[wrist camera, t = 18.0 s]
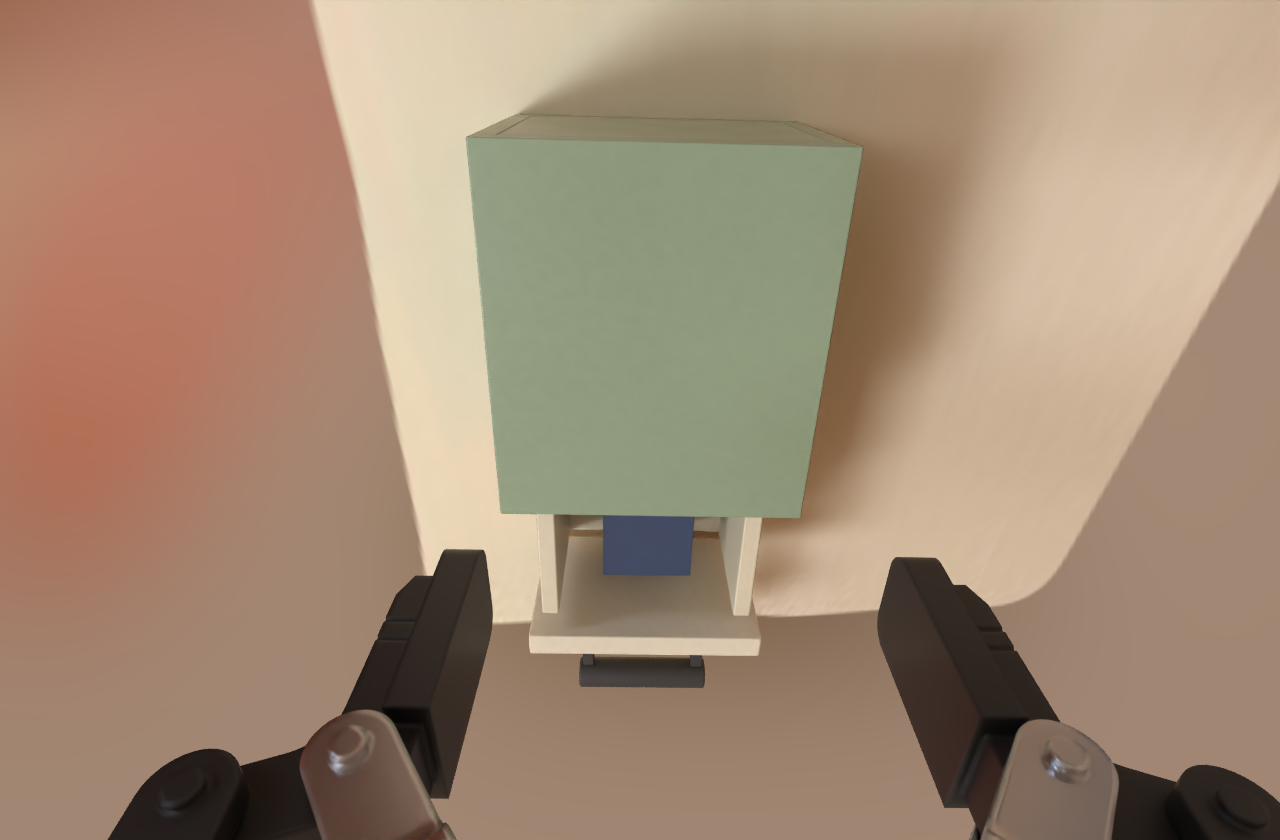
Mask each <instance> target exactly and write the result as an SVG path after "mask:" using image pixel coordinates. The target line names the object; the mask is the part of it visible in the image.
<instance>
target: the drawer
mask: <svg viewBox="0 0 1280 840" xmlns="http://www.w3.org/2000/svg"><path fill="white" fill-rule="evenodd" d="M536 516H537V533H538V549H539V565H540V578H539V584H538V589H537V595H536V600H535V606H534V611H533V616H532V622H531V627H530V633H529V645H530V652H531V653H568V654H569V653H570V654H583V657H581V659H580V672H579V683H580V686H582V687H661V688H662V687H663V688H665V687H666V688H667V687H668V688H703V687H704V682H705V668H704V660H703V659H702V655H729V656H732V655H733V656H758V655H759V650H760V644H761V636H760V631H759V627H758V622H757V618H756V613H755V608H754V604H753V599H752V592H753V585H754V577H755V570H756V563H757V556H758V548H759V541H760V534H761V527H762V519H763V518H748V517H694V530H693V531H700V532H719V537H720V539H693V544H692V558H691V571H690V576H663V575H604V574H603V537H569V535H570V530H603V515H559V514H536ZM594 654H647V655H652V654H653V655H656V654H657V655H690V658H663V657H662V658H661V657H594Z"/></svg>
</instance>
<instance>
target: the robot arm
mask: <svg viewBox="0 0 1280 840" xmlns="http://www.w3.org/2000/svg"><path fill="white" fill-rule="evenodd" d="M492 619H493V610H492V600H491V592H490V584H489V576H488V569H487V561H486V555H485V552H484V550H462V549H446V550H444V551H443V553H442V555H441V557H440V560H439V562H438V565H437V567H436V570H435V572H434V575H433V576H415V577H414V578H413V579H412V580H411V581H410V582H409V583H408V584H407V585H406V586H405V587H404V588H403V589H401V590H400V591H399V592H398V593H397V594H396V596H395V598H394V600H393V603H392V605H391V607H390V609H389V611H388V614H387V616H386V621H385V622H384V623H383V625H382V627H381V629H380V632H379V634H378V639H377V640H376V641H375V642H374V645H373V647H372V649H371V652H370V654H369V656H368V658H367V660H366V662H365V665H364V667H363V669H362V672H361V674H360V676H359V678H358V680H357V682H356V685H355V687H354V689H353V691H352V694H351V696H350V698H349V700H348V703H347V705H346V707H345V709H344V711H343V712H342V714H341V715H340V716H338V717H336V718H334V719H332V720H331V721H329V722H328V723H326V724H325V725H324V726H322V727H321V728H320V729H319V730H318V731H317V732H316V733H315V734H314V735H313V736H312V737H311V739H310V740H309V741H308V743H307V744H306V746H304V747H302V748H300V749H297V750H295V751H292V752H289V753H286V754H282V755H278V756H275V757H272V758H268V759H264V760H260V761H257V762H253V763H249V764H246V765H242V766H240V765H239V763H238V761H237V760H236V758H235V757H234V756H233V755H232V754H231V753H229V752H226V751H224V750H220V749H203V750H198V751H194V752H191V753H188V754H185V755H183V756H181V757H179V758H176V759H174V760H173V761H171V762H169V763H168V764H166V765H165V766H163V767H162V768H160V769H159V770H158V771H157V772H155V773H154V774H153V775H152V776H151V777H150V778H149V779H148V780H147V781H146V782H145V783H144V784H143V785H142V786H141V788H140V789H139V791H138V792H137V793H136V795H135V796H134V798H133V799H132V801H131V803H130V804H129V806H128V808H127V809H126V811H125V812H124V814H123V816H122V817H121V819H120V821H119V822H118V824H117V825H116V827H115V829H114V830H113V832H112V834H111V835H110V837H109V838H108V840H457V839H456V837H455V835H454V834H453V832H452V830H451V828H450V827H449V825H448V824H447V823H444V824H443V823H442V821H441V819H440V818H439V816H438V814H437V812H436V810H435V808H434V805H433V803H432V801H431V799H430V798H442V799H444V798H445V799H448V798H449V795H450V792H451V788H452V784H453V780H454V776H455V772H456V768H457V764H458V761H459V757H460V753H461V749H462V745H463V741H464V738H465V734H466V730H467V726H468V722H469V718H470V714H471V711H472V707H473V703H474V699H475V695H476V691H477V687H478V684H479V679H480V676H481V672H482V668H483V664H484V660H485V656H486V653H487V649H488V645H489V641H490V636H491V630H492ZM877 624H878V625H877V626H878V636H879V641H880V645H881V648H882V650H883V653H884V655H885V658H886V660H887V663H888V666H889V668H890V670H891V673H892V676H893V678H894V681H895V683H896V686H897V688H898V691H899V693H900V696H901V698H902V701H903V704H904V706H905V708H906V711H907V714H908V716H909V719H910V721H911V724H912V726H913V729H914V732H915V734H916V737H917V739H918V742H919V744H920V747H921V749H922V752H923V754H924V757H925V760H926V762H927V765H928V767H929V770H930V772H931V775H932V777H933V780H934V782H935V784H936V787H937V790H938V793H939V795H940V797H941V800H942V803H943V805H944V807H945V808H969V810H970V812H971V815H972V817H973V819H974V822H975V826H974V828H973V830H972V832H971V835H970V838H969V840H1280V803H1279V802H1278V801H1277V800H1276V799H1275V798H1274V797H1273V796H1271V795H1270V794H1269V793H1268V792H1267V791H1265V790H1264V789H1263V788H1261V787H1260V786H1258V785H1257V784H1255V783H1254V782H1252V781H1250V780H1249V779H1247V778H1245V777H1243V776H1241V775H1239V774H1237V773H1235V772H1232V771H1229V770H1227V769H1224V768H1220V767H1216V766H1210V765H1197V766H1193V767H1190V768H1188V769H1187V770H1185V772H1184V773H1183V774H1182V775H1181V777H1180V778H1179V780H1178V781H1177V782H1174V781H1170V780H1167V779H1164V778H1160V777H1157V776H1153V775H1150V774H1146V773H1143V772H1140V771H1136V770H1133V769H1129V768H1126V767H1123V766H1120V765H1117V764H1115V763H1112V761H1111V759H1110V758H1109V757H1108V755H1107V754H1106V753H1105V752H1104V750H1103V749H1102V748H1100V746H1099V745H1098V744H1097V743H1095V742H1094V741H1093V740H1092V739H1091V738H1089V737H1087V736H1086V735H1085V734H1083V733H1082V732H1080V731H1078V730H1077V729H1075V728H1073V727H1070V726H1068V725H1066V724H1063V723H1061V722H1060V720H1059V719H1058V717H1057V716H1056V714H1055V713H1054V711H1053V709H1052V708H1051V706H1050V705H1049V703H1048V701H1047V700H1046V698H1045V696H1044V695H1043V693H1042V692H1041V690H1040V688H1039V686H1038V685H1037V683H1036V682H1035V680H1034V678H1033V677H1032V675H1031V674H1030V672H1029V670H1028V669H1027V667H1026V665H1025V664H1024V662H1023V660H1022V659H1021V657H1020V656H1019V654H1018V652H1017V651H1014V647H1013V644H1012V643H1011V641H1010V639H1009V638H1008V636H1007V634H1006V633H1005V632H1003V631H1002V627H1001V625H1000V623H999V621H998V620H997V618H996V617H995V615H994V613H993V612H992V610H991V608H990V607H989V605H988V604H987V603H986V602H984V601H983V600H982V599H981V598H980V597H979V596H977V595H976V594H975V593H974V592H973V591H972V590H971V589H969V588H968V587H967V586H966V585H953V584H952V582H951V580H950V578H949V577H948V575H947V573H946V571H945V570H944V568H943V566H942V564H941V563H940V561H939V560H938V559H936V558H918V557H896V558H894V560H893V561H892V563H891V566H890V570H889V574H888V578H887V582H886V585H885V589H884V593H883V597H882V601H881V605H880V608H879V613H878V622H877Z"/></svg>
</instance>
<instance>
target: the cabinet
mask: <svg viewBox="0 0 1280 840" xmlns="http://www.w3.org/2000/svg"><path fill="white" fill-rule="evenodd" d="M466 144H467V155H468V165H469V176H470V187H471V198H472V209H473V219H474V230H475V241H476V252H477V263H478V273H479V284H480V295H481V306H482V317H483V327H484V338H485V349H486V360H487V371H488V381H489V392H490V403H491V414H492V424H493V435H494V446H495V457H496V468H497V478H498V489H499V500H500V511H501V513H502V514H559V515H622V516H685V517H748V518H800V516H801V510H802V504H803V498H804V493H805V487H806V481H807V475H808V469H809V463H810V457H811V452H812V446H813V440H814V434H815V428H816V422H817V417H818V411H819V405H820V399H821V393H822V387H823V381H824V376H825V370H826V364H827V358H828V352H829V346H830V340H831V335H832V329H833V323H834V317H835V311H836V305H837V299H838V294H839V288H840V282H841V276H842V270H843V264H844V259H845V253H846V247H847V241H848V235H849V229H850V223H851V218H852V212H853V206H854V200H855V194H856V188H857V182H858V177H859V171H860V165H861V159H862V153H863V147H862V146H859V145H857V144H853V143H851V142H848V141H846V140H843V139H840V138H838V137H835V136H833V135H830V134H828V133H825V132H822V131H820V130H817V129H815V128H812V127H809V126H807V125H804V124H802V123H799V122H784V121H746V120H707V119H668V118H630V117H591V116H552V115H514V116H511V117H509V118H507V119H504V120H502V121H500V122H498V123H496V124H494V125H491V126H489V127H487V128H485V129H483V130H481V131H478V132H476V133H474V134H472V135H470V136H468V137H466Z"/></svg>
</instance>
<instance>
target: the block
mask: <svg viewBox="0 0 1280 840" xmlns="http://www.w3.org/2000/svg"><path fill="white" fill-rule="evenodd" d="M693 530H694V517H685V516H622V515H603V574H604V575H663V576H690V571H691V558H692V544H693Z"/></svg>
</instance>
